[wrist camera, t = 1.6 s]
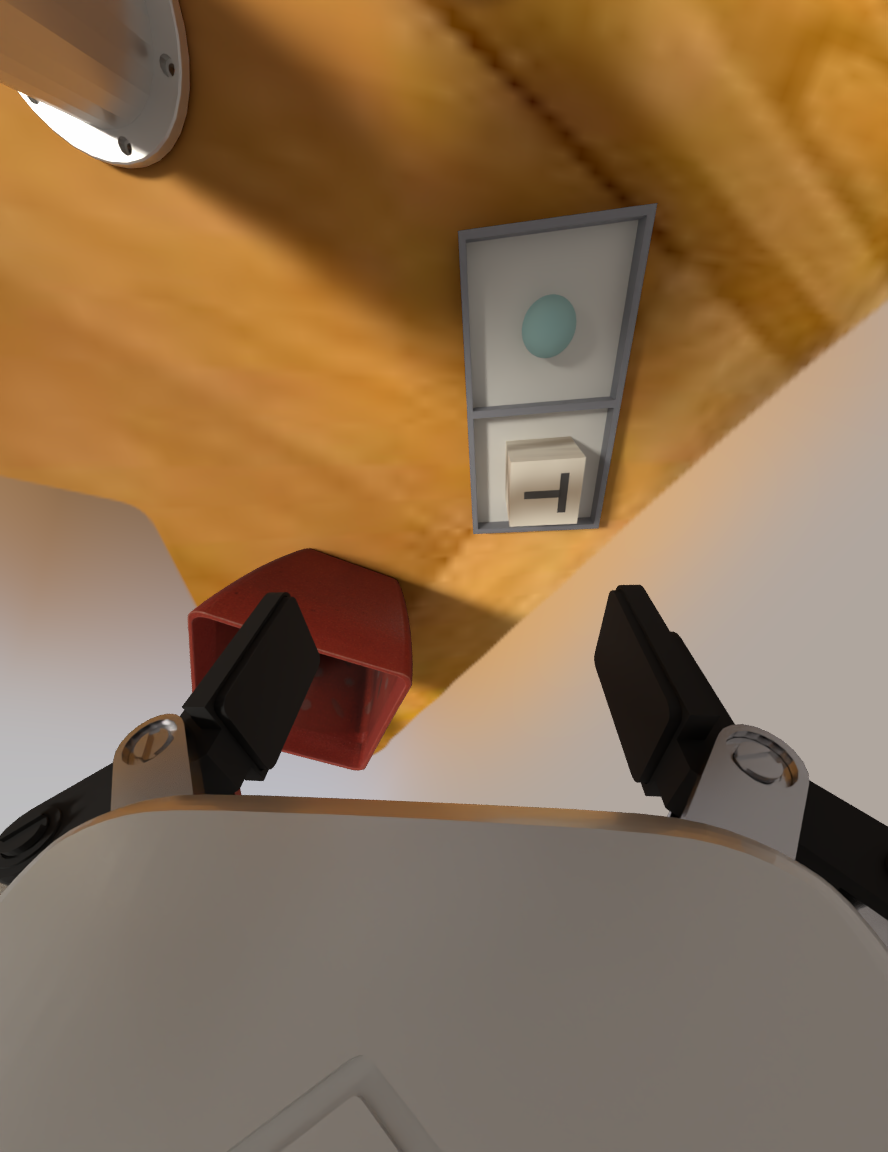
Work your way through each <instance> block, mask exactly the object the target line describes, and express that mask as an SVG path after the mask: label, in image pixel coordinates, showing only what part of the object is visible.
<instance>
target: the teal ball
mask: <svg viewBox="0 0 888 1152" xmlns="http://www.w3.org/2000/svg"><path fill="white" fill-rule="evenodd" d="M575 330H576V313H575V310H574V308H573V305H572V304H571V303H570V301H569V300H568V299H566V298H565V297H563V296H560V295H556V294H550V295H546V296H543V297H541V298H539V299H538V300H537V301H535V302H534V303H533V304H532V305H531V307H530V308H529V309H528V311H527V313H526V315H525V317H524V320H523V324H522V339H523V342H524V345H525V347H526V348H527V350H528V351H529V352H530V353H531V354H533V355H534V356H536V357H539V358H551V357H554V356H556V355H558V354H559V353H561V352H562V351H563V350H564V349H565V348H566V347H567V346H568V345H569V343H570V342H571V340H572V338H573V336H574V333H575Z"/></svg>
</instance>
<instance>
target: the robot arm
mask: <svg viewBox="0 0 888 1152" xmlns="http://www.w3.org/2000/svg"><path fill="white" fill-rule="evenodd" d="M174 68H175V72H173V71H174ZM0 83H2V84H4V85H6V86H8V87H10V88H12V89H14V90H17V91H18V93H19V94H20V95H21V96H22V98H23V99H24V100H25V101H26V102H27V104H28V105H29V106H30V107H31V109H32V110H33V111H34V112H35V113H36V114H37V115H38V116H39V117H40V118H41V119H42V120H43V121H44V122H45V123H46V124H47V125H48V126H49V127H50V128H51V129H52V130H53V131H54V132H55V133H57V134H58V135H59V136H60V137H62V138H63V139H64V140H66V141H67V142H68V143H70V144H71V145H72V146H73V147H75V148H77V149H78V150H80V151H82V152H84V153H86V154H88V155H89V156H91V157H93V158H95V159H98V160H100V161H103V162H105V163H108V164H111V165H114V166H119V167H124V168H129V169H131V168H141V167H147V166H149V165H151V164H154V163H156V162H158V161H160V160H161V159H162V158H163V157H164V156H165V155H166V154H167V153H168V152H169V151H171V149H172V148H173V146H174V144H175V143H176V141H177V139H178V137H179V136H180V134H181V131H182V128H183V124H184V121H185V118H186V115H187V108H188V100H189V92H190V68H189V54H188V46H187V39H186V32H185V26H184V22H183V18H182V14H181V10H180V6H179V2H178V0H0ZM594 661H595V667H596V670H597V673H598V676H599V679H600V682H601V685H602V688H603V691H604V694H605V697H606V700H607V703H608V706H609V709H610V712H611V715H612V718H613V721H614V724H615V727H616V730H617V733H618V736H619V739H620V742H621V745H622V748H623V751H624V753H625V757H626V760H627V763H628V766H629V769H630V772H631V775H632V777H633V779H634V781H635V782H641V784H642V787H643V790H644V793H645V795H646V796H660V797H662V800H663V803H664V805H665V808H667V809H668V810H669V813H668V816H667V817H664V816H655V815H646V814H637V813H622V812H607V811H592V810H577V809H559V808H539V807H518V806H497V805H477V804H455V803H432V802H409V801H386V800H364V799H339V798H313V797H285V796H260V795H241V791H240V787H241V785H242V783H243V781H244V779H245V780H252V781H253V780H254V781H264V779H265V777H266V774H267V772H268V770H269V769H272V768H273V767H274V766H275V764H276V762H277V760H278V758H279V755H280V753H281V751H282V749H283V746H284V744H285V742H286V740H287V737H288V735H289V733H290V731H291V728H292V726H293V724H294V721H295V719H296V717H297V715H298V712H299V710H300V708H301V706H302V703H303V701H304V699H305V697H306V694H307V692H308V690H309V688H310V685H311V683H312V681H313V678H314V676H315V674H316V672H317V669H318V667H319V664H320V655H319V652H318V650H317V648H316V645H315V643H314V640H313V638H312V636H311V633H310V631H309V629H308V626H307V624H306V622H305V619H304V617H303V614H302V612H301V610H300V607H299V605H298V603H297V600H296V599H295V598H294V597H291V595H290V594H289V593H288V592H269V593H267V594H266V595H265V596H264V597H263V598H262V600H261V601H260V602H259V604H258V605H257V606H256V608H255V609H254V610H253V612H252V613H251V614H250V616H249V617H248V619H247V620H246V621H245V623H244V624H243V625H242V627H241V628H240V629H239V631H238V632H237V633H236V635H235V636H234V637H233V639H232V640H231V641H230V643H229V644H228V645H227V647H226V648H225V650H224V651H223V652H222V654H221V655H220V656H219V658H218V659H217V660H216V662H215V663H214V664H213V666H212V667H211V668H210V670H209V671H208V672H207V674H206V675H205V677H204V678H203V679H202V681H201V682H200V683H199V685H198V686H197V687H196V689H195V690H194V691H193V693H192V694H191V695H190V697H189V698H188V699H187V701H186V702H185V703H184V705H183V706H182V708H183V709H184V711H183V713H182V714H181V716H180V717H179V716H178V715H176V714H164V715H159V716H157V717H154V718H151V719H149V720H147V721H146V722H144V723H142V724H141V725H139V726H138V727H136V728H135V729H134V730H133V731H131V732H130V733H129V734H128V735H127V736H126V737H125V739H124V740H123V741H122V742H121V743H120V745H119V747H118V748H117V750H116V752H115V755H114V759H113V763H111V764H110V765H108V766H106V767H104V768H103V769H101V770H99V771H98V772H96V773H94V774H92V775H91V776H89V777H87V778H85V779H84V780H82V781H80V782H78V783H77V784H75V785H73V786H71V787H70V788H68V789H66V790H64V791H63V792H61V793H59V794H57V795H56V796H54V797H52V798H50V799H49V800H47V801H45V802H43V803H42V804H40V805H38V806H36V807H35V808H33V809H31V810H30V811H28V812H27V813H25V814H24V815H22V816H21V817H19V818H18V819H17V820H16V821H15V822H13V823H12V824H11V825H10V826H9V827H8V828H6V829H5V831H4V832H3V833H2V834H1V835H0V1152H888V826H886V825H884V824H882V823H881V822H879V821H877V820H876V819H874V818H872V817H871V816H869V815H867V814H865V813H864V812H862V811H860V810H859V809H857V808H855V807H854V806H852V805H850V804H849V803H847V802H845V801H843V800H842V799H840V798H838V797H837V796H835V795H833V794H832V793H830V792H828V791H826V790H825V789H823V788H821V787H820V786H818V785H816V784H814V783H813V782H811V781H809V774H808V771H807V769H806V767H805V765H804V763H803V761H802V760H801V759H800V757H799V756H798V755H797V754H796V752H795V751H794V750H793V749H792V748H791V747H789V746H788V745H787V744H786V743H785V742H784V741H782V740H781V739H779V738H778V737H776V736H774V735H772V734H771V733H769V732H767V731H765V730H762V729H760V728H757V727H754V726H749V725H744V724H738V725H735V724H734V722H733V721H732V719H731V717H730V716H729V714H728V713H727V711H726V709H725V708H724V706H723V705H722V703H721V702H720V700H719V698H718V697H717V695H716V694H715V692H714V690H713V689H712V687H711V685H710V684H709V682H708V681H707V679H706V677H705V676H704V674H703V673H702V671H701V670H700V668H699V666H698V665H697V663H696V661H695V660H694V658H693V657H692V655H691V653H690V652H689V650H688V648H687V647H686V645H685V644H684V642H683V640H682V639H681V638H680V636H679V635H678V634H677V633H675V632H670V631H669V629H668V628H667V626H666V624H665V623H664V621H663V619H662V617H661V616H660V614H659V612H658V611H657V609H656V608H655V606H654V604H653V603H652V601H651V600H650V598H649V596H648V594H647V593H646V591H645V589H644V588H643V587H642V586H641V585H619V586H618V587H617V588H616V590H612V591H610V593H609V596H608V601H607V605H606V609H605V613H604V617H603V622H602V626H601V630H600V634H599V638H598V642H597V646H596V651H595V656H594Z"/></svg>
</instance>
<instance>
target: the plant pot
mask: <svg viewBox="0 0 888 1152" xmlns="http://www.w3.org/2000/svg"><path fill="white" fill-rule="evenodd" d="M269 592H288V593H289V594H290V595H291V597H294V598H295V599H296V600H297V603H298V605H299V607H300V610H301V612H302V614H303V617H304V619H305V622H306V624H307V626H308V629H309V631H310V633H311V636H312V638H313V640H314V643H315V645H316V648H317V650H318V652H319V655H320V664H319V667H318V669H317V672H316V674H315V676H314V678H313V681H312V683H311V685H310V688H309V690H308V692H307V694H306V697H305V699H304V701H303V703H302V706H301V708H300V710H299V712H298V715H297V717H296V719H295V721H294V724H293V726H292V728H291V731H290V733H289V735H288V737H287V740H286V742H285V744H284V746H283V749H282V752H286V753H290V754H293V755H297V756H301V757H305V758H309V759H313V760H316V761H320V762H324V763H328V764H331V765H336V766H339V767H343V768H347V769H351V770H363V769H365V768H366V766H367V764H368V762H369V760H370V758H371V757H372V755H373V753H374V751H375V749H376V747H377V745H378V744H379V742H380V740H381V738H382V736H383V735H384V733H385V731H386V729H387V727H388V726H389V724H390V722H391V720H392V718H393V717H394V715H395V713H396V712H397V710H398V708H399V706H400V705H401V703H402V701H403V700H404V698H405V696H406V694H407V693H408V691H409V689H410V688H411V686H412V668H413V661H412V642H411V632H410V624H409V618H408V612H407V607H406V603H405V600H404V596H403V592H402V589H401V587H400V585H399V582H398V581H397V580H396V579H394V578H391V577H389V576H386V575H383V574H380V573H377V572H375V571H372V570H369V569H366V568H363V567H360V566H358V565H355V564H352V563H349V562H346V561H343V560H341V559H338V558H335V557H332V556H329V555H327V554H324V553H321V552H318V551H315V550H313V549H308V548H307V549H302V550H299V551H296V552H293V553H291V554H288V555H286V556H283V557H281V558H278V559H276V560H274V561H271V562H269V563H267V564H265V565H263V566H261V567H259V568H257V569H255V570H253V571H252V572H250V573H248V574H246V575H245V576H243V577H241V578H240V579H238V580H236V581H235V582H233V583H231V584H230V585H228V586H227V587H225V588H224V589H222V590H221V591H219V592H218V593H216V594H214V595H213V596H212V597H210V598H209V599H207V600H206V601H204V602H203V603H202V604H201V605H199V606H198V607H197V608H195V609H194V610H193V611H192V612H190V613H189V614H188V631H189V648H190V664H191V679H192V693H193V691H194V690H195V689H196V687H197V686H198V685H199V683H200V682H201V681H202V679H203V678H204V677H205V675H206V674H207V672H208V671H209V670H210V668H211V667H212V666H213V664H214V663H215V662H216V660H217V659H218V658H219V656H220V655H221V654H222V652H223V651H224V650H225V648H226V647H227V645H228V644H229V643H230V641H231V640H232V639H233V637H234V636H235V635H236V633H237V632H238V631H239V629H240V628H241V627H242V625H243V624H244V623H245V621H246V620H247V619H248V617H249V616H250V614H251V613H252V612H253V610H254V609H255V608H256V606H257V605H258V604H259V602H260V601H261V600H262V598H263V597H264V596H265V595H266V594H267V593H269Z"/></svg>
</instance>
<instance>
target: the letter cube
mask: <svg viewBox="0 0 888 1152" xmlns="http://www.w3.org/2000/svg"><path fill="white" fill-rule="evenodd" d="M585 462H586V457H585V455H584V454H583V453H582V451H581V450H580V449H579V447H578V446H577V445H576V443H575V442H574V440H573V439H572V438H571V436H569V437H555V438H542V439H528V440H514V441H506V484H505V500H506V507H507V513H508V519H509V526H510V527H514V526H536V525H557V524H577V519H578V512H579V505H580V497H581V490H582V483H583V476H584V469H585Z"/></svg>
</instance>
